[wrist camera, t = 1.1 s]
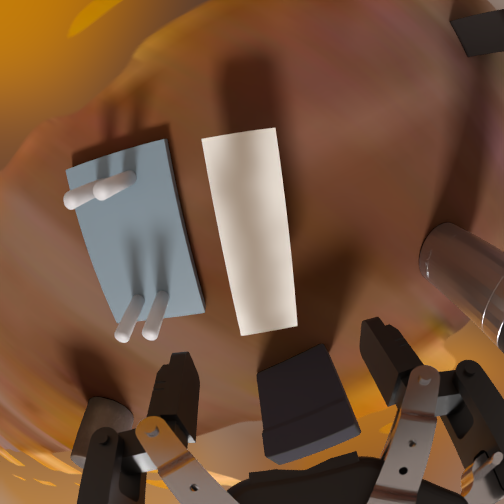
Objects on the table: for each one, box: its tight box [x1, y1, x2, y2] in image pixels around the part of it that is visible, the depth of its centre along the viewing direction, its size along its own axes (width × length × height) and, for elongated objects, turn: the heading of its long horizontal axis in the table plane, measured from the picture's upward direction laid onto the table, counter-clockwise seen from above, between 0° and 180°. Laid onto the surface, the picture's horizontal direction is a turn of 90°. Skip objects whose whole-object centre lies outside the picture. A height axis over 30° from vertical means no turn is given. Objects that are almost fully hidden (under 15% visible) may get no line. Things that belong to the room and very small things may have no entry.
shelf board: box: [202, 128, 297, 336], centre depth 24 cm, size 6×18×3 cm, turn 8°
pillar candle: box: [71, 397, 133, 469], centre depth 35 cm, size 10×10×15 cm
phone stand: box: [450, 9, 504, 57], centre depth 16 cm, size 9×6×12 cm, turn 120°
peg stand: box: [64, 139, 206, 343], centre depth 26 cm, size 12×20×8 cm, turn 8°
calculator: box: [257, 344, 361, 465], centre depth 32 cm, size 11×4×15 cm, turn 119°
